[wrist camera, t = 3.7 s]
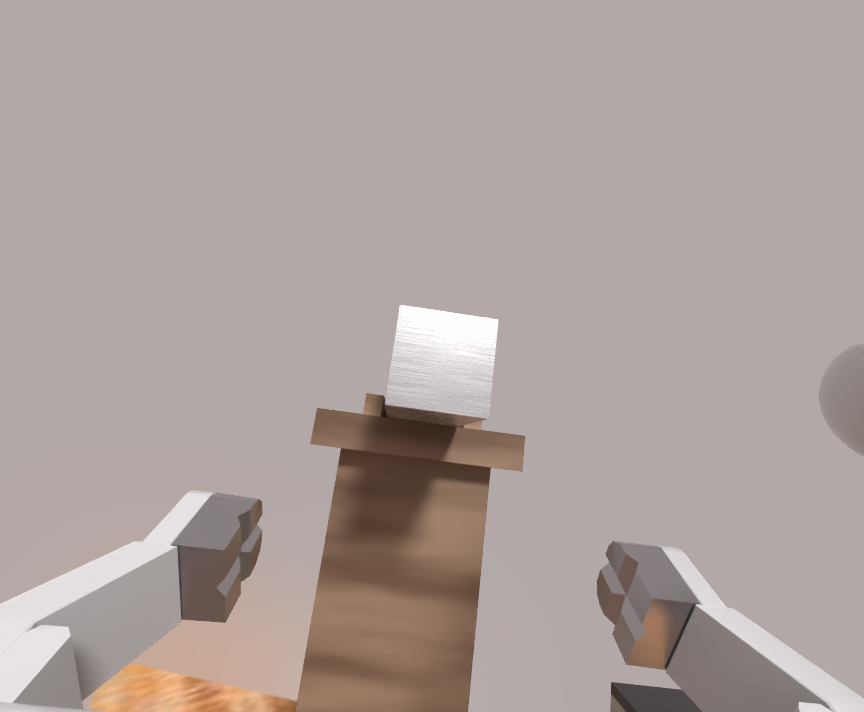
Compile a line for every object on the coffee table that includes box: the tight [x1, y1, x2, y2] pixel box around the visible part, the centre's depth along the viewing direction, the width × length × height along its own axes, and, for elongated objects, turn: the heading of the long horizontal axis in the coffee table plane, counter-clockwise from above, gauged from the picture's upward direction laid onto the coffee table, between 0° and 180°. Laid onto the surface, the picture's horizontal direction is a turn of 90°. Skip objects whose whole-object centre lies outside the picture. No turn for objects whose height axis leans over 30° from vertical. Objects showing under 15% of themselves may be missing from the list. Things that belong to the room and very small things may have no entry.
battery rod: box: [385, 305, 498, 427], centre depth 26 cm, size 21×4×4 cm, turn 5°
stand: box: [296, 394, 525, 712], centre depth 26 cm, size 14×14×27 cm
